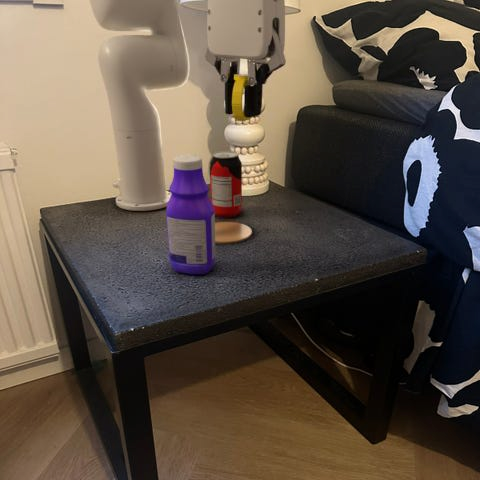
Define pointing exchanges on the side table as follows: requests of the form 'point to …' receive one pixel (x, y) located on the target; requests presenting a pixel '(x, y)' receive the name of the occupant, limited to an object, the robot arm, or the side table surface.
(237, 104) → the watch
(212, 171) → the beverage can
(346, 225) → the side table surface
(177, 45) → the robot arm
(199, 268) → the bottle
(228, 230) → the coaster
